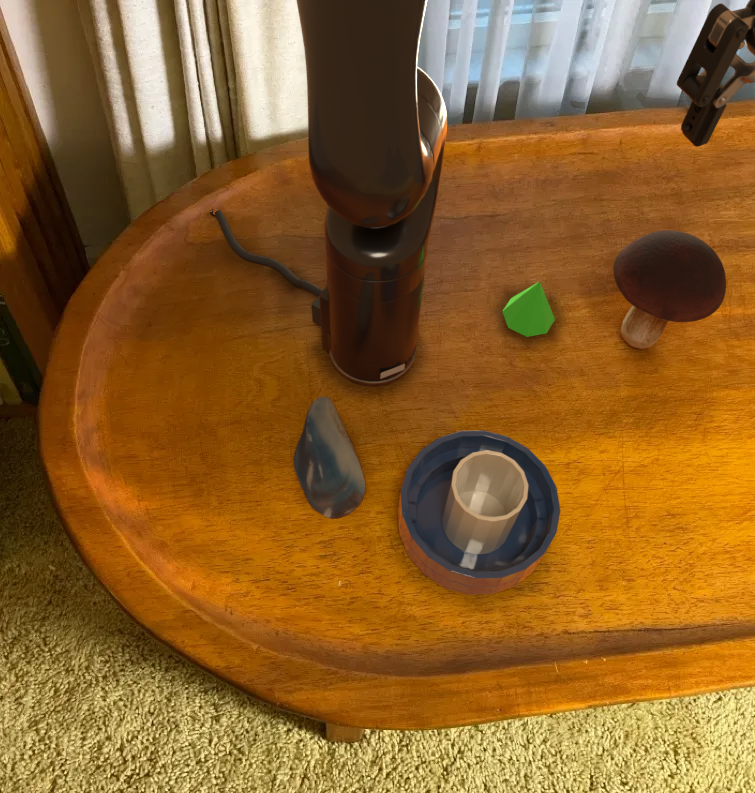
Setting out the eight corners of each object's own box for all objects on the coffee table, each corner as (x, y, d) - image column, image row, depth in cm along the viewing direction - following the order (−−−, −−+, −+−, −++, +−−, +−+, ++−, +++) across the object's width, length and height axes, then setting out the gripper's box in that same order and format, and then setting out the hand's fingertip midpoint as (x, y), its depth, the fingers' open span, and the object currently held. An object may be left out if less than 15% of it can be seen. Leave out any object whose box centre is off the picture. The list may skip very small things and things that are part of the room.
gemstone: (491, 309, 86) (499, 275, 81) (530, 286, 88) (541, 251, 83) (526, 346, 84) (537, 313, 78) (566, 320, 85) (580, 287, 80)
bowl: (369, 541, 72) (370, 519, 67) (447, 431, 78) (453, 404, 73) (500, 627, 68) (511, 610, 63) (571, 505, 74) (586, 481, 69)
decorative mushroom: (678, 392, 81) (739, 306, 68) (576, 364, 82) (618, 274, 70) (690, 315, 86) (749, 221, 73) (594, 289, 88) (636, 193, 75)
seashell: (341, 531, 69) (386, 431, 68) (261, 486, 72) (303, 390, 71) (366, 525, 75) (408, 433, 74) (292, 484, 78) (331, 395, 77)
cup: (429, 530, 72) (437, 494, 64) (463, 478, 75) (475, 437, 67) (489, 567, 70) (505, 535, 63) (522, 512, 73) (541, 475, 66)
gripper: (810, -45, 41) (693, 183, 55) (996, -100, 44) (842, 128, 58) (720, -113, 44) (632, 118, 58) (900, -159, 47) (776, 70, 61)
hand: (737, 123), depth 58 cm, fingers open, 8 cm apart
